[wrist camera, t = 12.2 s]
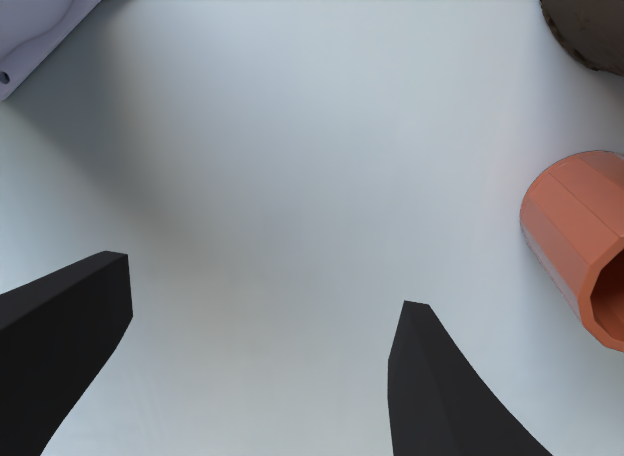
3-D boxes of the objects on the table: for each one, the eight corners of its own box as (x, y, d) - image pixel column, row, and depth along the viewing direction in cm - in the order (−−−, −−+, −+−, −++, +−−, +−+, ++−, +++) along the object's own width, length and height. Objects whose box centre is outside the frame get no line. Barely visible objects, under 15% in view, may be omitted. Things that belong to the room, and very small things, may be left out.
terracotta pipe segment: (669, 224, 20) (795, 314, 14) (547, 278, 22) (612, 378, 16) (625, 124, 18) (747, 179, 12) (497, 193, 20) (550, 268, 14)
